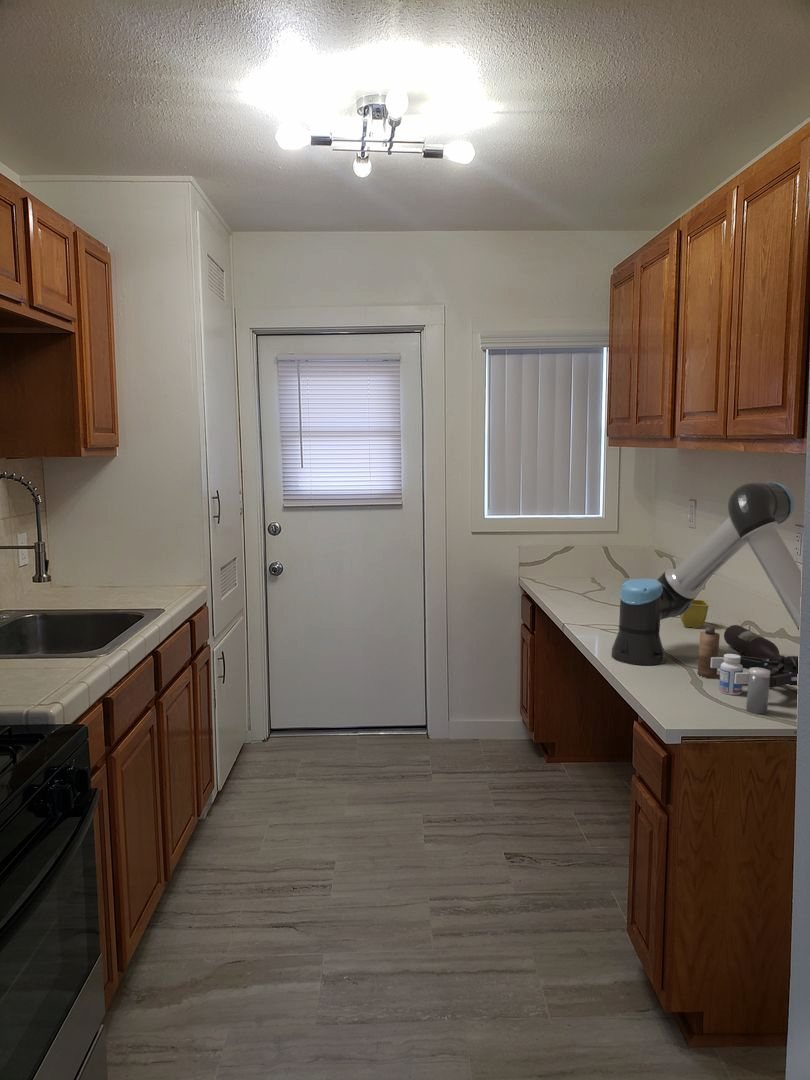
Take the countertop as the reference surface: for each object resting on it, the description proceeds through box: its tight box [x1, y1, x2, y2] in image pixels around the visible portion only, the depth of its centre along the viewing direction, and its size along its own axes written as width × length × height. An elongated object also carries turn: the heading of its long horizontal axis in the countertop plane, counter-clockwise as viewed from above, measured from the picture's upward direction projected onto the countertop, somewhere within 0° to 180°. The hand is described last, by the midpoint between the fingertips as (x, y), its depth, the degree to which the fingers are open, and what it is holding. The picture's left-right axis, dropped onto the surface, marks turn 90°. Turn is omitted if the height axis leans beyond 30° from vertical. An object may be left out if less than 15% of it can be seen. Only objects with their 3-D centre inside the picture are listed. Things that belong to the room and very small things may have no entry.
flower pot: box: [679, 599, 709, 629], centre depth 269 cm, size 9×9×9 cm
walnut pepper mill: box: [697, 626, 720, 679], centre depth 211 cm, size 5×5×14 cm
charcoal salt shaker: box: [745, 667, 770, 715], centre depth 183 cm, size 5×5×10 cm
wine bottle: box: [723, 624, 787, 663], centre depth 229 cm, size 7×7×30 cm
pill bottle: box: [718, 653, 744, 696], centre depth 197 cm, size 6×5×10 cm
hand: (722, 670), depth 197 cm, fingers open, 13 cm apart
